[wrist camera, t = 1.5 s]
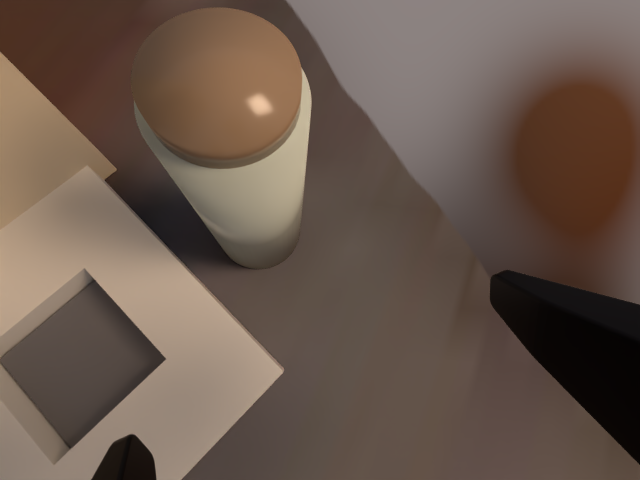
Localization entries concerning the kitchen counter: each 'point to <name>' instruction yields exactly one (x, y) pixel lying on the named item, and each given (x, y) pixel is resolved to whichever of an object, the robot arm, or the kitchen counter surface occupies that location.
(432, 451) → the kitchen counter surface
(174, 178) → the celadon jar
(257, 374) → the light wood frame
